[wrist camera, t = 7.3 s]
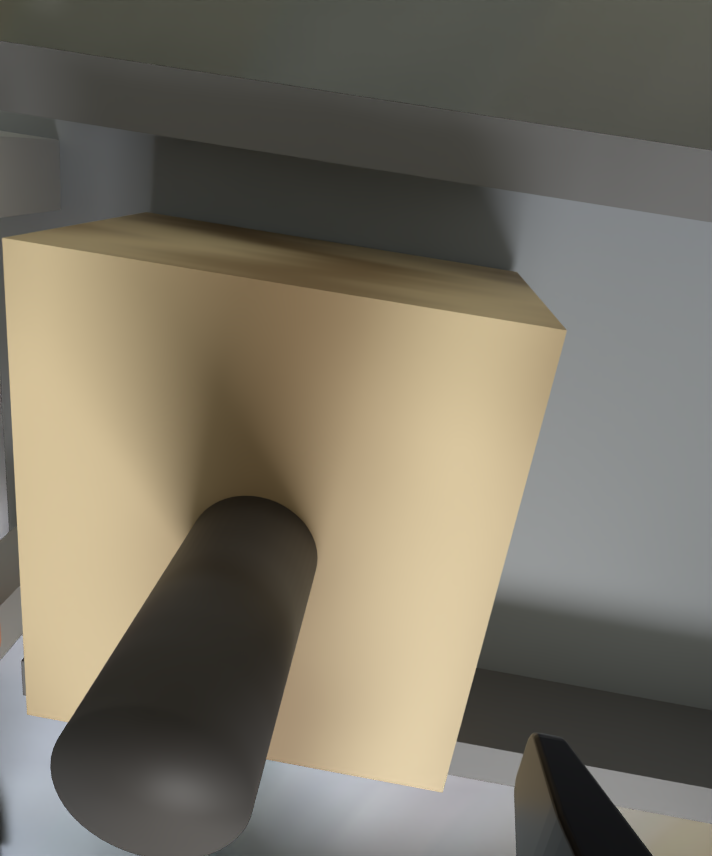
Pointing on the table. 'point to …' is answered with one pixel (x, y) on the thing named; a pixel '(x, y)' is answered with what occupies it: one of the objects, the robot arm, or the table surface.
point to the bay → (571, 390)
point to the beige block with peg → (257, 508)
